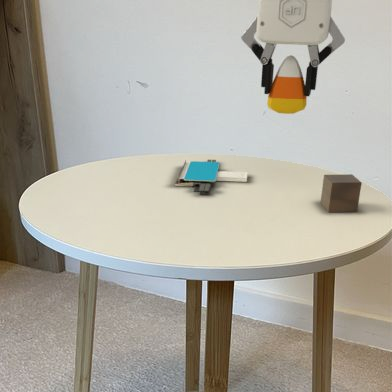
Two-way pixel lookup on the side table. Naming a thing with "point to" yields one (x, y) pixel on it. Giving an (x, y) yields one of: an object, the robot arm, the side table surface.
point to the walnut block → (340, 193)
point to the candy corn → (288, 88)
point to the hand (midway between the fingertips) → (287, 92)
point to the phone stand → (205, 175)
